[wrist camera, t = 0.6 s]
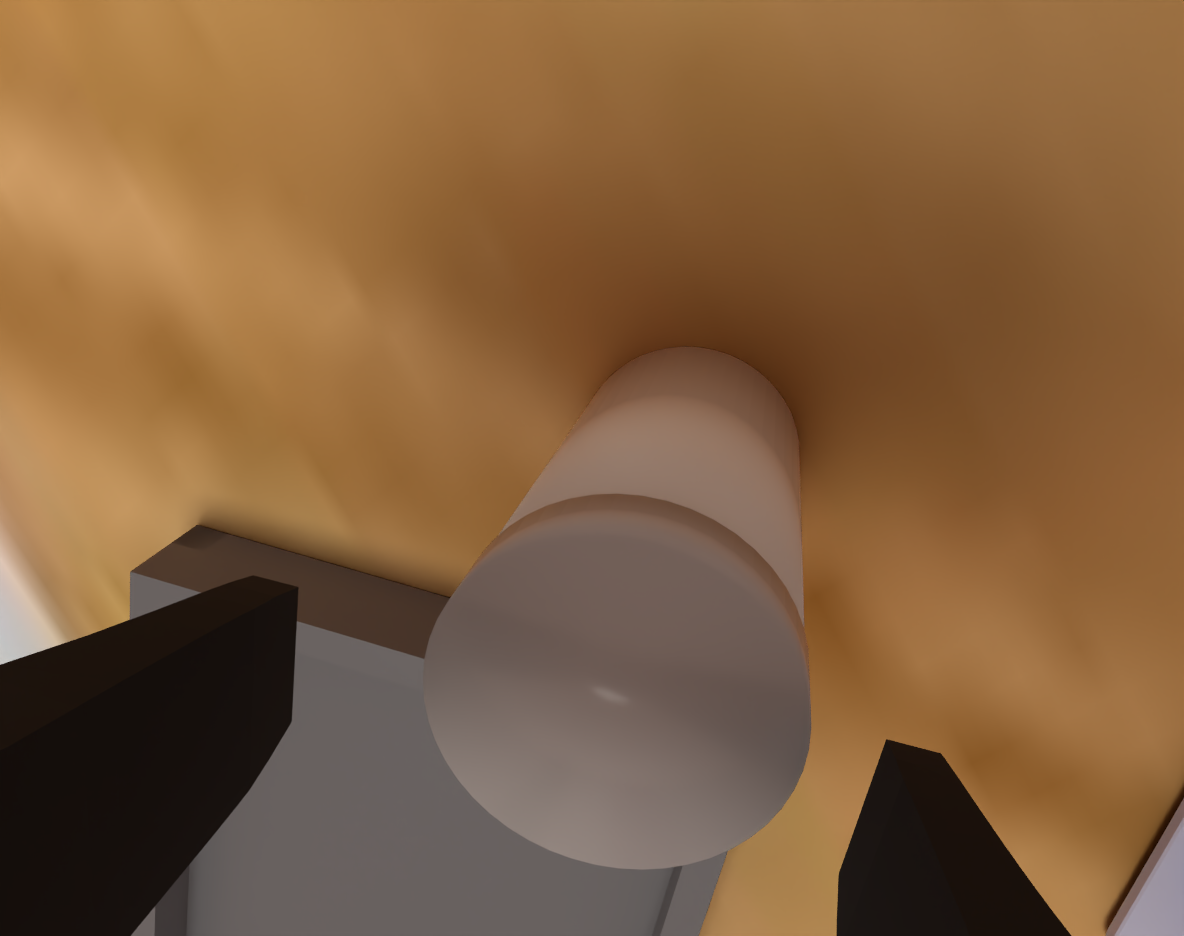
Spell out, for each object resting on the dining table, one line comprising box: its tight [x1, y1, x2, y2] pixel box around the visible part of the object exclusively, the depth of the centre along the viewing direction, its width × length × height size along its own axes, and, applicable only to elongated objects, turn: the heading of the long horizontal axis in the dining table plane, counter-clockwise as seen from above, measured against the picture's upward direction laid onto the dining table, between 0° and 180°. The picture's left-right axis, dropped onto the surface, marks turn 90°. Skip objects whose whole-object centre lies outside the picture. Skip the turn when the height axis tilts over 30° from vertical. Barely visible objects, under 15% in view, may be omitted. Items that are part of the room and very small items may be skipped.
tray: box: [130, 525, 728, 936], centre depth 24 cm, size 14×16×2 cm
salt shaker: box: [423, 347, 811, 870], centre depth 15 cm, size 5×5×9 cm
